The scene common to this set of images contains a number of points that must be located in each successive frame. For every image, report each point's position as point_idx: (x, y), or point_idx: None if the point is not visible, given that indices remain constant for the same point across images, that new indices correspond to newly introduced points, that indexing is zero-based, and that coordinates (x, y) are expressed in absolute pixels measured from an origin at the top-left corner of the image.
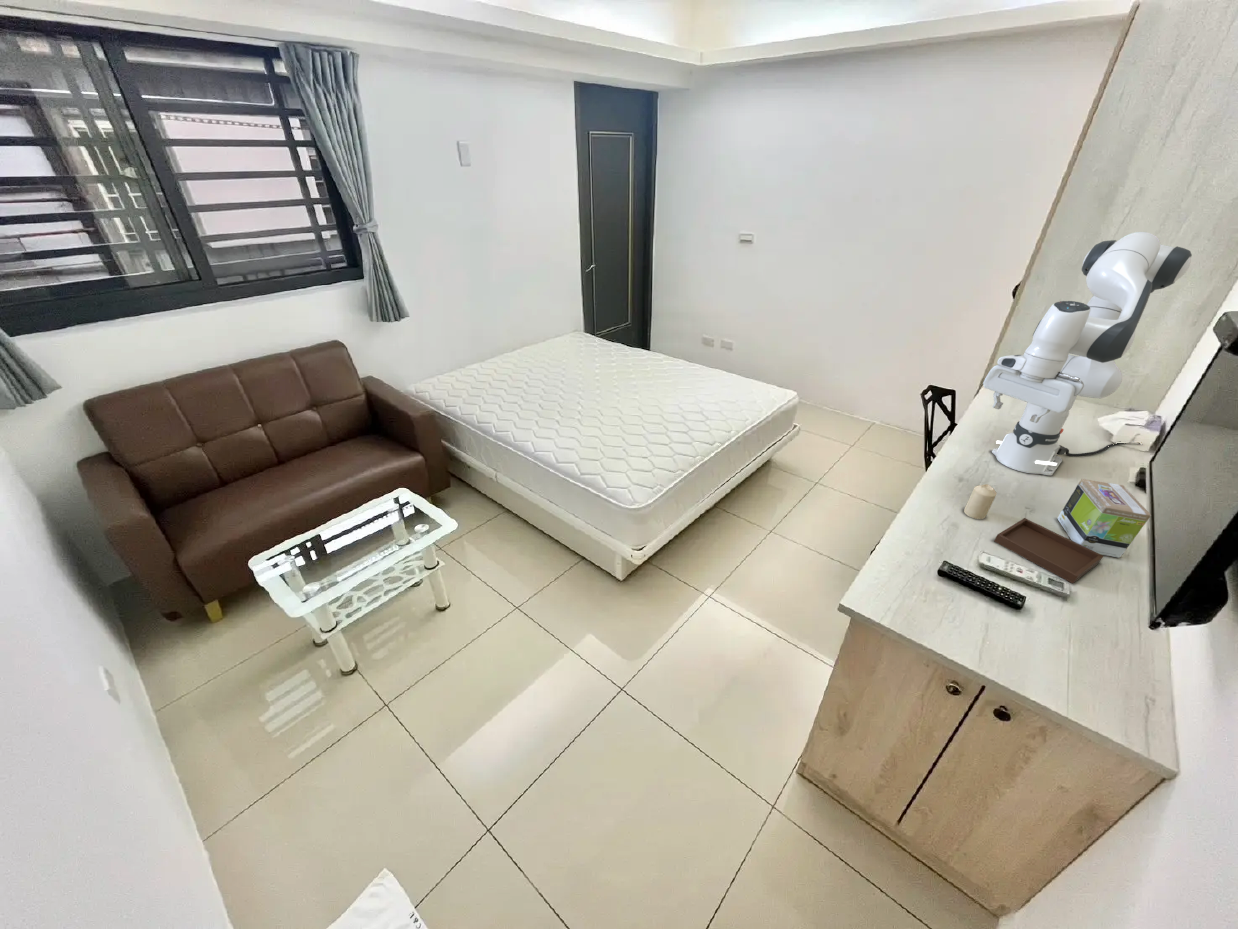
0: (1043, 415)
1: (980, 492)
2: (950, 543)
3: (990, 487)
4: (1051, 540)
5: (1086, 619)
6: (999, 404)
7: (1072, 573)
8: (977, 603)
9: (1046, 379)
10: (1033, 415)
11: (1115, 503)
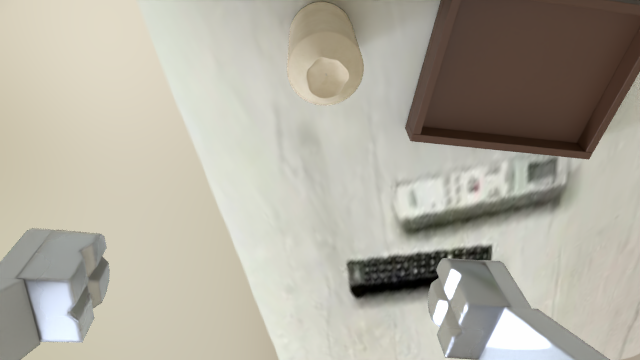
0: (552, 326)
1: (318, 103)
2: (333, 209)
3: (334, 60)
4: (538, 7)
5: (588, 225)
6: (82, 335)
7: (579, 157)
8: (427, 307)
9: None
10: (456, 356)
11: None
